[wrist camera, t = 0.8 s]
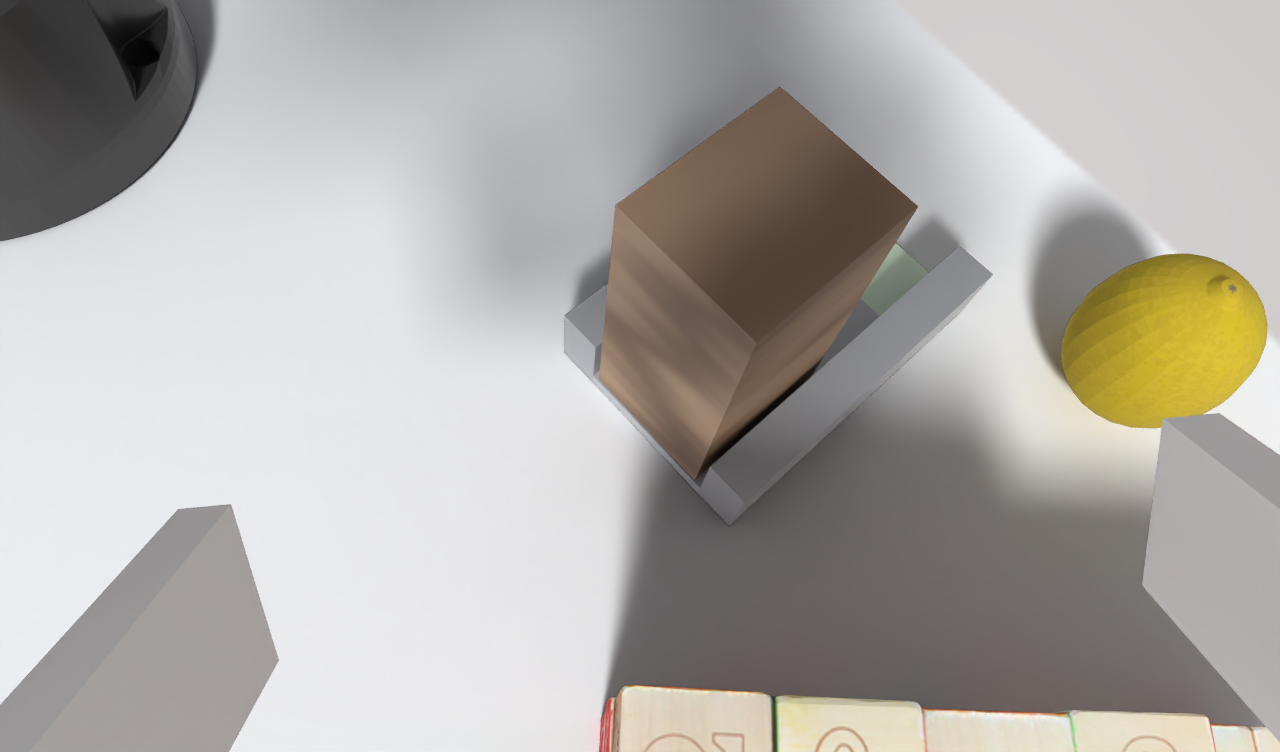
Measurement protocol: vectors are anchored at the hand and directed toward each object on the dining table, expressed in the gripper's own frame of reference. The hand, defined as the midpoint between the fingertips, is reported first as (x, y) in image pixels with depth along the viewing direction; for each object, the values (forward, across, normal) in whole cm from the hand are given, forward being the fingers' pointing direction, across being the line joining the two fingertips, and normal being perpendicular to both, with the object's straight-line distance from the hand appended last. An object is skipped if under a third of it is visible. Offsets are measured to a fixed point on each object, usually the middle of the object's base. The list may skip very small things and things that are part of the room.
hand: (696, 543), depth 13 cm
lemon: (+21, +16, -8) cm, 28 cm away
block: (+20, +1, -6) cm, 20 cm away
